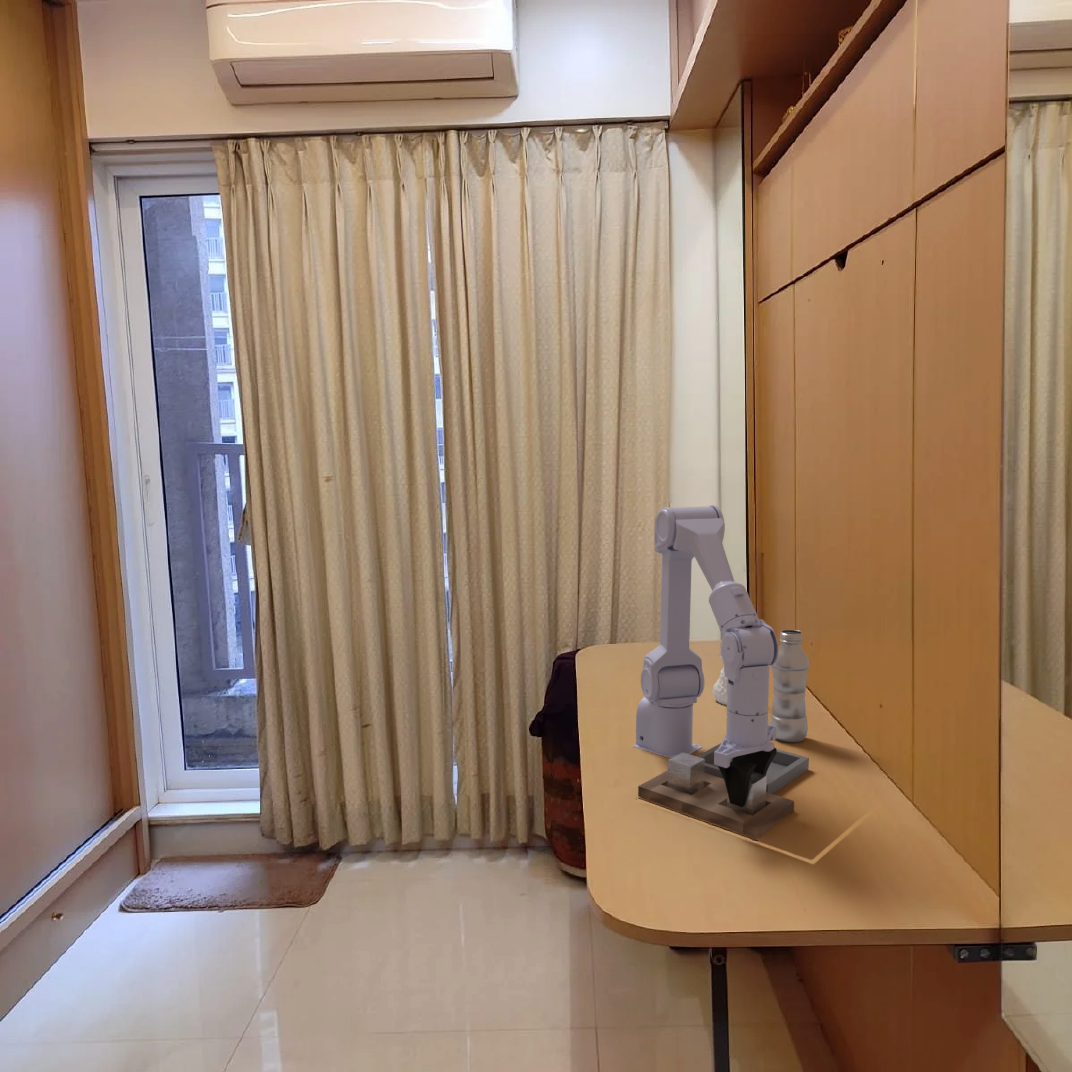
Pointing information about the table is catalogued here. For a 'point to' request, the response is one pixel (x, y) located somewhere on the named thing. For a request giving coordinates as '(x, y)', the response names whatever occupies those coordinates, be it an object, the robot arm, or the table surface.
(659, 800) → the wooden board with recesses
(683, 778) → the block
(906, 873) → the table surface
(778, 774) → the tray
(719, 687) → the sitting furry creature
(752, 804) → the block
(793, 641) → the plastic bottle
